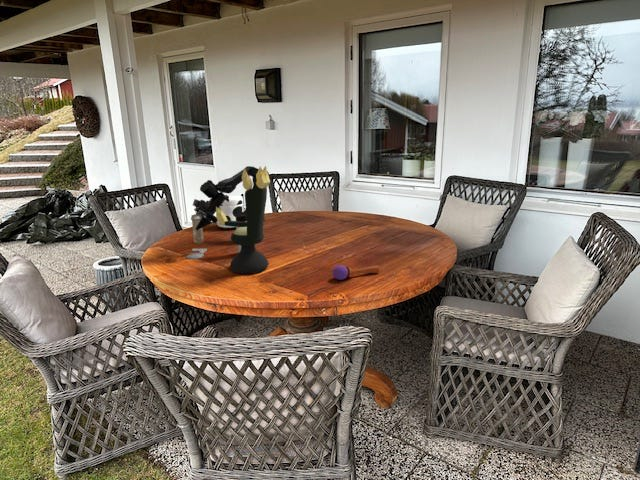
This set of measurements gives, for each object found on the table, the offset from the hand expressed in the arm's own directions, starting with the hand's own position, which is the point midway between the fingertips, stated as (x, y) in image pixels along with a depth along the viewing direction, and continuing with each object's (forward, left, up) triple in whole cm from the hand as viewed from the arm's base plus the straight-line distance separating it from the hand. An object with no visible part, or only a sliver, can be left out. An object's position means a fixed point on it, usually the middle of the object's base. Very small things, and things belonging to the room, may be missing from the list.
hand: (194, 228), depth 202 cm
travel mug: (-23, -5, -13) cm, 27 cm away
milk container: (+9, -51, -13) cm, 54 cm away
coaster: (-1, +4, -13) cm, 13 cm away
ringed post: (-1, -1, -7) cm, 7 cm away
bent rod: (+2, -4, -13) cm, 13 cm away
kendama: (-81, +11, -13) cm, 83 cm away
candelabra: (-36, +13, -13) cm, 40 cm away
